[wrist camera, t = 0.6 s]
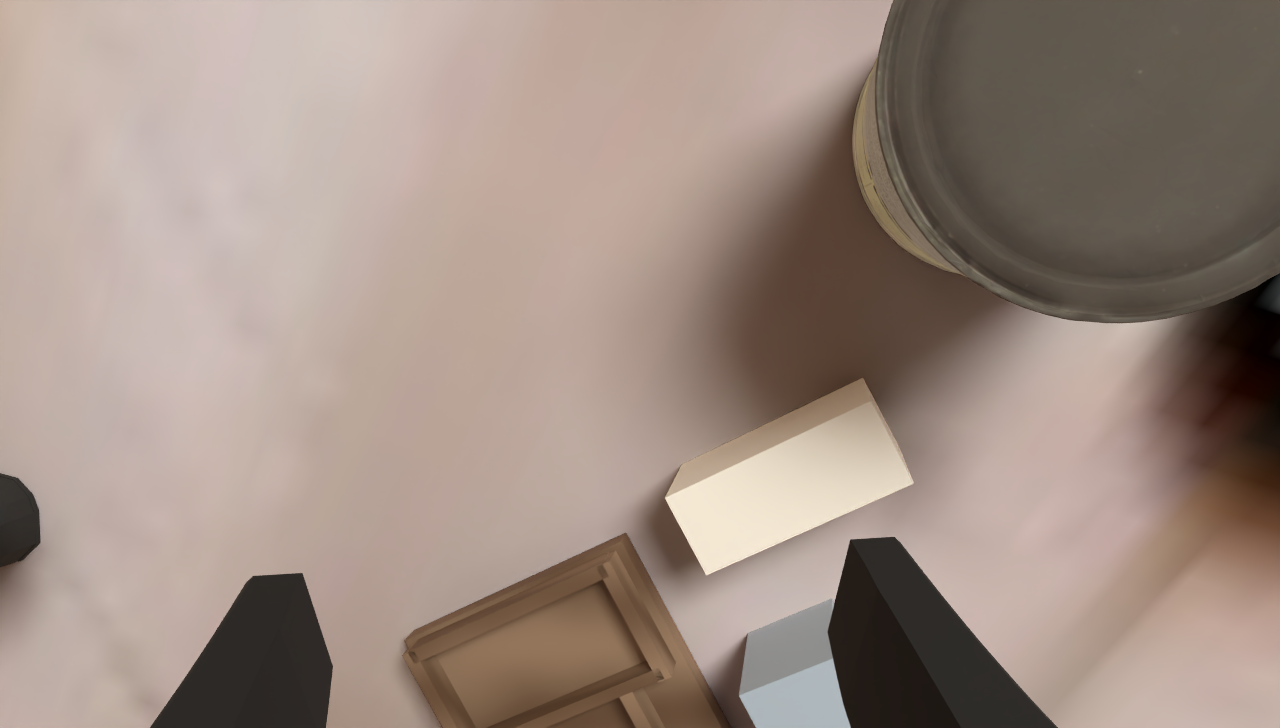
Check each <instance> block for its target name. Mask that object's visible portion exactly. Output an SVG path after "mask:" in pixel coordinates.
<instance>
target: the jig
mask: <svg viewBox="0 0 1280 728" xmlns="http://www.w3.org/2000/svg"><path fill="white" fill-rule="evenodd" d="M404 641H405V643H406V644H407V646H408V648H409V649H408V650H407V651H406V652H405V653H404V654H403V655H402V656H403V658H404V659H405V661H406V663H407V665H408V667H409V668H410V670H411V672H412V674H413V676H414V677H415V679H416V681H417V683H418V684H419V686H420V688H421V690H422V692H423V693H424V695H425V697H426V699H427V701H428V702H429V704H430V706H431V708H432V710H433V711H434V713H435V715H436V717H437V718H438V720H439V722H440V724H441V726H442V727H443V728H731V727H730V725H729V723H728V721H727V719H726V718H725V716H724V714H723V712H722V710H721V708H720V706H719V705H718V703H717V701H716V699H715V697H714V695H713V693H712V692H711V690H710V688H709V686H708V684H707V682H706V680H705V679H704V677H703V675H702V673H701V671H700V669H699V667H698V666H697V664H696V662H695V660H694V658H693V656H692V654H691V652H690V651H689V649H688V647H687V645H686V643H685V641H684V639H683V638H682V636H681V634H680V632H679V630H678V628H677V626H676V625H675V623H674V621H673V619H672V617H671V615H670V613H669V612H668V610H667V608H666V606H665V604H664V602H663V600H662V598H661V597H660V595H659V593H658V591H657V589H656V587H655V585H654V584H653V582H652V580H651V578H650V576H649V574H648V572H647V571H646V569H645V567H644V565H643V563H642V561H641V559H640V558H639V556H638V554H637V552H636V550H635V548H634V546H633V544H632V543H631V541H630V539H629V537H628V535H627V533H624V534H622V535H620V536H618V537H615V538H613V539H611V540H609V541H607V542H605V543H602V544H600V545H598V546H596V547H594V548H592V549H589V550H587V551H585V552H583V553H581V554H579V555H576V556H574V557H572V558H570V559H568V560H566V561H563V562H561V563H559V564H557V565H555V566H553V567H550V568H548V569H546V570H544V571H542V572H539V573H537V574H535V575H533V576H531V577H529V578H526V579H524V580H522V581H520V582H518V583H516V584H513V585H511V586H509V587H507V588H505V589H503V590H500V591H498V592H496V593H494V594H492V595H490V596H487V597H485V598H483V599H481V600H479V601H477V602H474V603H472V604H470V605H468V606H466V607H464V608H461V609H459V610H457V611H455V612H453V613H451V614H448V615H446V616H444V617H442V618H440V619H438V620H435V621H433V622H431V623H429V624H427V625H425V626H422V627H420V628H418V629H416V630H414V631H413V632H412V633H411V634H410V635H409V636H408V637H407V638H406V639H405V640H404Z"/></svg>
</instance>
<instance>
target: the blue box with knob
mask: <svg viewBox="0 0 1280 728" xmlns="http://www.w3.org/2000/svg"><path fill="white" fill-rule="evenodd" d="M833 607H834V602H833V600H832V599H829V600H827V601H825V602H822V603H820V604H817V605H815V606H813V607H810V608H808V609H805V610H803V611H800V612H798V613H796V614H793V615H791V616H788V617H786V618H784V619H781V620H779V621H776V622H774V623H771V624H769V625H767V626H764V627H762V628H759V629H757V630H754V631H752V632H750V633H748V636H747V643H746V650H745V657H744V664H743V670H742V677H741V684H740V691H739V697H740V699H741V701H742V702H743V704H744V706H745V708H746V710H747V712H748V714H749V716H750V717H751V719H752V721H753V723H754V725H755V727H756V728H851V727H850V724H849V721H848V717H847V714H846V711H845V708H844V705H843V701H842V697H841V692H840V688H839V684H838V679H837V675H836V671H835V666H834V661H833V656H832V652H831V647H830V642H829V637H828V632H827V631H828V627H829V623H830V619H831V615H832V611H833Z"/></svg>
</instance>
